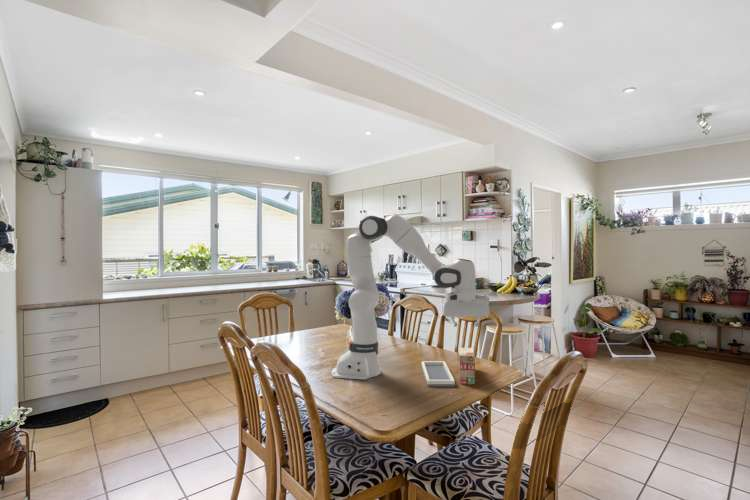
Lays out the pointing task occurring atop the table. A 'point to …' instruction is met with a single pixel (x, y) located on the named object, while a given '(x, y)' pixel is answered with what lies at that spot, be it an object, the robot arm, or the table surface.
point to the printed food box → (466, 365)
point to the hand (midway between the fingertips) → (466, 326)
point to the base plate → (437, 374)
